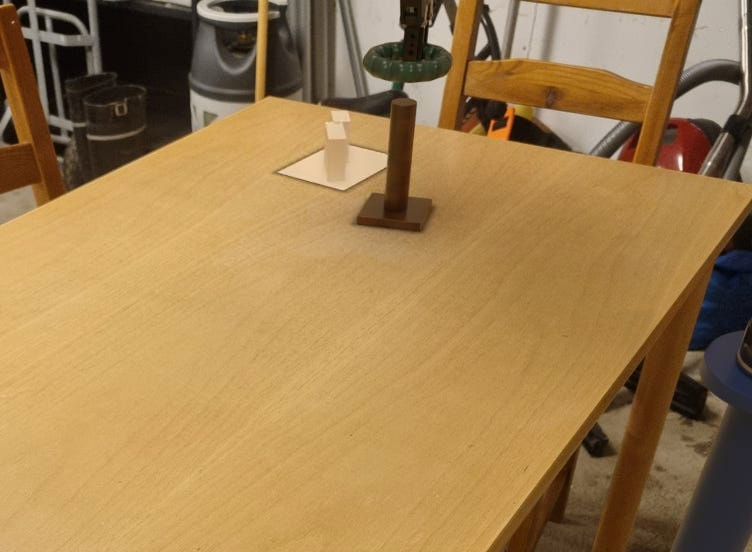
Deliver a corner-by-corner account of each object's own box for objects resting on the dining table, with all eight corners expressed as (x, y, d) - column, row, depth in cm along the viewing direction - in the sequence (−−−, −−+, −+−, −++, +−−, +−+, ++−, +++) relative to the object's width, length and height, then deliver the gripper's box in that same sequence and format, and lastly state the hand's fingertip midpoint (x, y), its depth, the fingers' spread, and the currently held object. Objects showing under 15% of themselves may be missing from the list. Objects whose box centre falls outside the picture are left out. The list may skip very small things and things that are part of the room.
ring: (457, 62, 109) (459, 42, 107) (443, 88, 102) (445, 67, 101) (373, 56, 111) (374, 36, 109) (354, 81, 104) (355, 61, 103)
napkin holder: (344, 191, 124) (346, 144, 120) (276, 172, 129) (276, 127, 124) (402, 157, 132) (406, 113, 128) (336, 141, 137) (338, 98, 133)
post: (431, 206, 120) (444, 94, 111) (419, 231, 115) (431, 115, 105) (371, 200, 122) (378, 88, 112) (356, 224, 116) (363, 109, 107)
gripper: (455, -117, 91) (434, 81, 104) (477, -137, 100) (455, 48, 113) (380, -120, 93) (369, 76, 105) (408, -139, 102) (395, 43, 115)
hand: (413, 60), depth 109 cm, fingers closed on ring, 2 cm apart
